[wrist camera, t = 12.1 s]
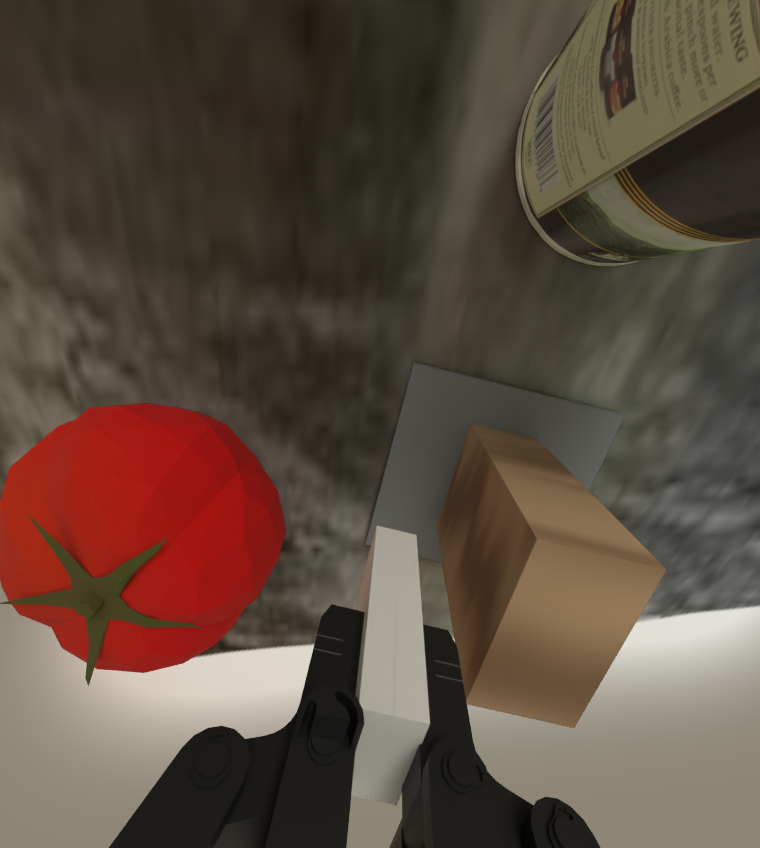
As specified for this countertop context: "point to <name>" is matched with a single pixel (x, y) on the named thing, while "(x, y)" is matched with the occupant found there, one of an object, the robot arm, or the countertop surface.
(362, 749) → the robot arm
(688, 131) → the coffee can
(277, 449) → the countertop surface
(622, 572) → the tan rectangular block
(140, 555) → the tomato
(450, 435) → the rubber mat
